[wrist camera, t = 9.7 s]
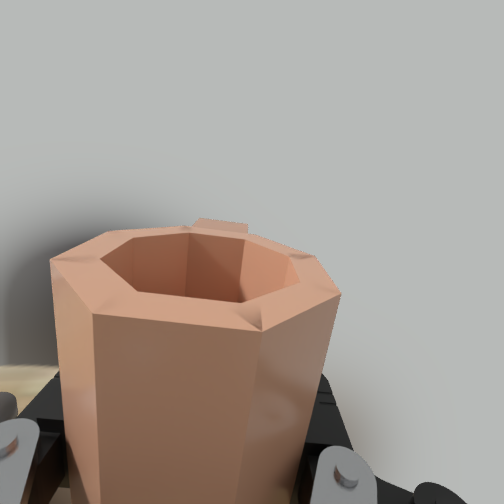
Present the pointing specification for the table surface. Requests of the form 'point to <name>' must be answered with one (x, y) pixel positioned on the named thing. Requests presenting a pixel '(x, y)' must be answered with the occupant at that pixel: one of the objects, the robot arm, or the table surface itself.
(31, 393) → the table surface
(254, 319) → the sleeve
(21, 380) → the table surface
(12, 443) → the robot arm
